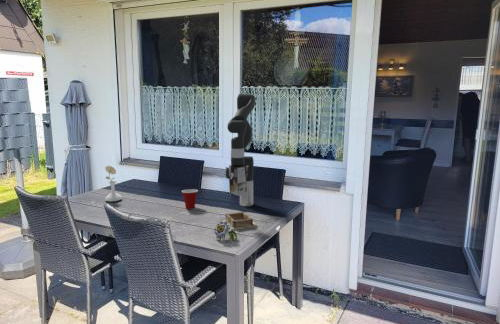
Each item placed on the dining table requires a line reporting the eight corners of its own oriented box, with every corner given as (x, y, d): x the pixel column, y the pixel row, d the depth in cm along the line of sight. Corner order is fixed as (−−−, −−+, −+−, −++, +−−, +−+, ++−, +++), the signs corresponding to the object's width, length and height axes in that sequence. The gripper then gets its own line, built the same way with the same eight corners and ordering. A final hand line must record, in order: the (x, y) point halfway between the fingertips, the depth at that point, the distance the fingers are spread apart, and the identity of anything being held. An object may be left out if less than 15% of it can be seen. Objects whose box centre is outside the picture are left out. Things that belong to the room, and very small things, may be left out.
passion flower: (219, 250, 190) (207, 231, 191) (232, 240, 198) (219, 221, 199) (232, 243, 183) (219, 223, 183) (245, 233, 191) (232, 214, 192)
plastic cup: (198, 204, 251) (197, 187, 248) (198, 209, 240) (198, 191, 238) (182, 205, 249) (181, 188, 247) (181, 210, 238) (181, 192, 236)
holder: (221, 221, 218) (221, 214, 217) (246, 218, 223) (246, 211, 223) (230, 230, 203) (230, 222, 202) (257, 226, 209) (257, 219, 208)
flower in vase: (125, 200, 263) (123, 165, 258) (111, 203, 254) (108, 168, 249) (114, 197, 270) (112, 163, 266) (100, 200, 261) (97, 166, 257)
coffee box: (247, 194, 208) (247, 166, 205) (237, 196, 205) (237, 167, 201) (238, 190, 215) (238, 163, 212) (229, 192, 212) (228, 165, 209)
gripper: (227, 158, 200) (227, 187, 203) (251, 156, 205) (252, 185, 208) (223, 155, 207) (223, 184, 210) (247, 154, 212) (247, 182, 215)
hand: (237, 184), depth 209 cm, fingers closed on coffee box, 7 cm apart
